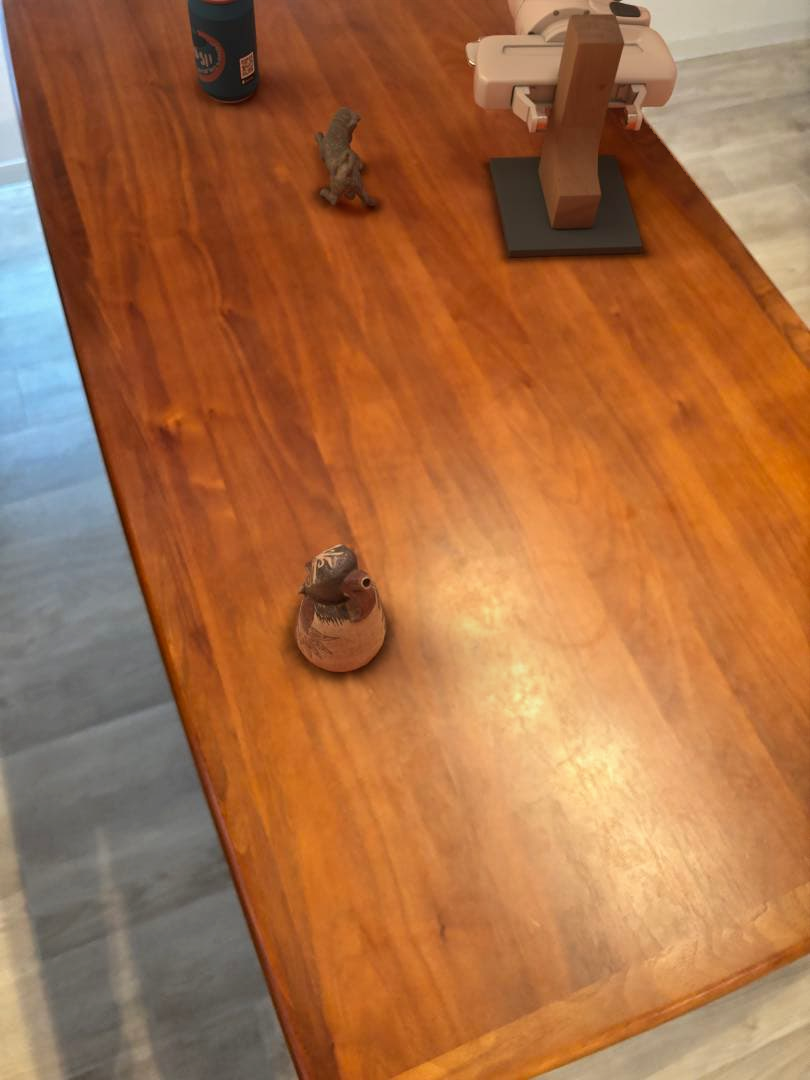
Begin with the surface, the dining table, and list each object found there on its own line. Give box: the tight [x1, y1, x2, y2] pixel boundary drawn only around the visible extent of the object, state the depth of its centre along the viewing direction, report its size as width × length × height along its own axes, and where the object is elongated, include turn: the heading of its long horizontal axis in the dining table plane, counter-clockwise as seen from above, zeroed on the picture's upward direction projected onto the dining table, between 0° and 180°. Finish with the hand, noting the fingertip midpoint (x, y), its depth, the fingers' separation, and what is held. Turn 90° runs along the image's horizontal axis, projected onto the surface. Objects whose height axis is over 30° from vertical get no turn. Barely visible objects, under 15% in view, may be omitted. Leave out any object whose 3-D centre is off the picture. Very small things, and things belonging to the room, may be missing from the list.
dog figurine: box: [314, 106, 378, 207], centre depth 105 cm, size 12×6×7 cm, turn 9°
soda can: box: [186, 0, 261, 104], centre depth 109 cm, size 7×7×12 cm
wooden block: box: [538, 14, 624, 229], centre depth 99 cm, size 9×4×18 cm, turn 6°
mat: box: [489, 154, 644, 258], centre depth 107 cm, size 14×14×1 cm
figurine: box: [294, 543, 387, 673], centre depth 76 cm, size 7×7×12 cm
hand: (586, 125), depth 98 cm, fingers open, 8 cm apart
